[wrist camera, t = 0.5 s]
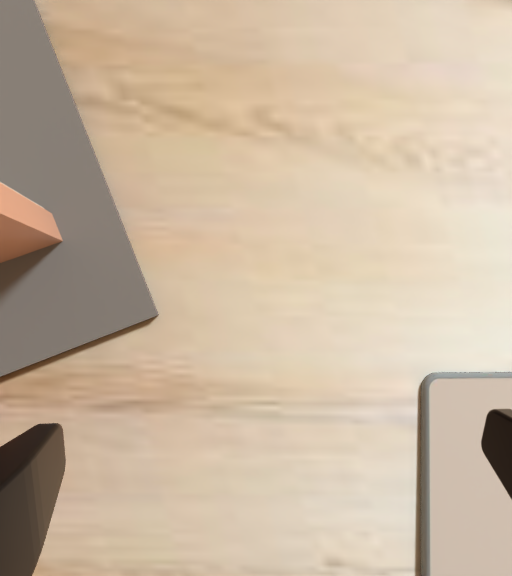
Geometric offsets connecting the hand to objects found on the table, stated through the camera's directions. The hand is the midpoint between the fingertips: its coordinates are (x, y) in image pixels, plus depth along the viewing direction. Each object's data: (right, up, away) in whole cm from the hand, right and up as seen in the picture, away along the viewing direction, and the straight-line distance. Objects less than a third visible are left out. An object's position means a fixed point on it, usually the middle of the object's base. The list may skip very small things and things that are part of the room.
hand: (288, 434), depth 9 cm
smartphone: (+13, -9, +16) cm, 23 cm away
